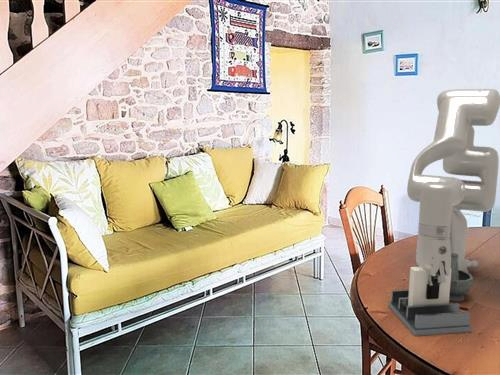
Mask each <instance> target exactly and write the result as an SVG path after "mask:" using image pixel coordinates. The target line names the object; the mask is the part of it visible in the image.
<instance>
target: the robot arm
mask: <svg viewBox="0 0 500 375" xmlns="http://www.w3.org/2000/svg"><path fill="white" fill-rule="evenodd" d="M436 104H437V106H436V107H437V111H438V116H437V121H436V126H435V130H434V131H435V132H434V137H433V141H432V142H431V143H429V144H428V145H427V146H426V147H424V148H423V149H422V150H421V151H420V152H419V153H418V154H417V156H416V157H415V158H414V160H413V162H412V164H411V167H410V172H409V176H408V180H407V188H406V193H407V197H408V198H409V199H410V200H411V201H413V202H417V203H419V213H418V215H419V216H418V230H417V235H418V236H417V242H416V249H415V250H416V251H415V252H416V253H415V263H416V264H417V267H422V268H424V269H425V270H426V272H427V273H429V284H427V291H426V298H427V299H438V298H439V286H440V285H441V283H443V282H446V278H445V275H447V276H449V275H450V271H451V253H456V254H458V270H462V271H465V272H467V273H469V270H468V268H470V267H473V268H475V267H478V266H479V262H478V260H470V259H468V258H467V259H466V258H465V256H466V255H465V254H466V245H467V234H468V232H467V231H468V221H467V219H466V216H465V215H464V214H463V212H462V211H473V212H481V213H484V212H490V211H491V210H493V209H494V206H495V202H496V198H497V197H496V196H497V186H498V174H499V163H500V162H499V161H500V160H499V159H500V158H499V154H498V151H497V149H496V148H493V147H491V146H475V145H474V141H475V128H474V127H473V126H475V127H477V126H479V127H487V126H491V125H493V123H494V122H495V121H496V118H497V115H498V112H499V110H500V93H499V91H498V90H497V89H495V88H468V89H467V88H461V89H460V88H459V89H458V88H457V89H448V90H444V91H441V92H440V93H439V94H438V95H437V98H436ZM440 160H442V170H443V171H444V173H446V174H448V175H452V176H451V177H450V176H441V175H432V174H431V175H430V174H429V175H428V174H423V172H424V170H425V169H426V168H427V167H428V166H429V165H431V164H433V163H435V162H439V161H440ZM453 176H463V177H477V178H479V179H480V181H479V180H470V179H469V180H467V179H460V178H457V177H453ZM436 272H438V273H436ZM433 277H437V278H434V279H433Z"/></svg>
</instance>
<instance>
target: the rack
mask: <svg viewBox="0 0 500 375" xmlns="http://www.w3.org/2000/svg"><path fill="white" fill-rule="evenodd" d="M390 294H391V296H390V301H388V307H389V309H391V311H392V312H393V313H394V314H395V316H396V317H397V318H398V319H399V320H400V321H401V322H402V323H403V324H404V326H405V327H406V328H407V329H408V330H409V332H410V333H411V334H412V335H413V336H414V337H419V336H420V335H421V336H433V335H445V334H457V333H460V334H463V333H472V330H473V329H472V328H473V326H472V325H471V324H470V323H471V322H470V320H471V312H470V311H460V303H459V302H449V303H448V304H432V305H417V306H408V297H409V288H408V289H394V290H393V289H391V293H390ZM449 298H450V296H449Z"/></svg>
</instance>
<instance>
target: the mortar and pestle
mask: <svg viewBox="0 0 500 375" xmlns="http://www.w3.org/2000/svg"><path fill="white" fill-rule="evenodd" d="M451 269H452V270H451V282H450V294H449V296H450V298H449V301H451V302H452V301H453V302H462V301H464V300H465V294H466V293H468V292H469V291H470V290H471V289H472V286H473V283H474V278H473V276H472V274H471V273H469V272H468V273H467V272H465V271H462V270H458V254H456V253H451Z"/></svg>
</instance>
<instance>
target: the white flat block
mask: <svg viewBox="0 0 500 375" xmlns="http://www.w3.org/2000/svg"><path fill="white" fill-rule="evenodd" d="M451 270H452V269H451ZM436 273H438V272H436ZM434 278H437V277H433V279H434ZM445 278H446V282H443V283H441V285H440V286H439V298H438V299H427V298H426V291H427V284H429V273H427V272H426V270H425V269H424V268H422V267H419V266H411V267H410V268H409V280H408V281H409V282H408V284H409V285H408V289H409V297H408V306H417V305H432V304H448V303H450V300H449V294H450V282H451V271H450V275H449V276H447V275H445Z"/></svg>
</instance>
